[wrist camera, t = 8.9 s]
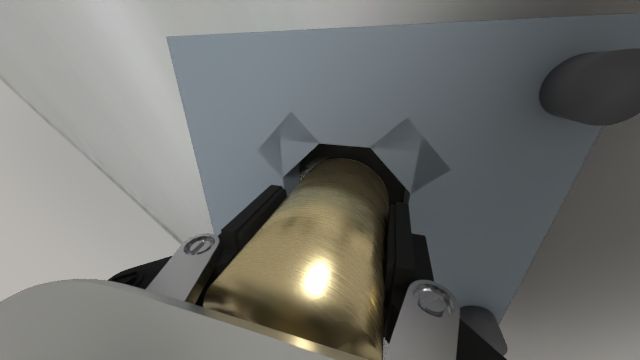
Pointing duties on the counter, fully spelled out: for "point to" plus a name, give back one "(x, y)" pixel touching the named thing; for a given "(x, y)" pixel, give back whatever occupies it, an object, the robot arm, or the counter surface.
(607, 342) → the counter surface
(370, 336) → the brass cylinder
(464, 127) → the plate
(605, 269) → the counter surface
